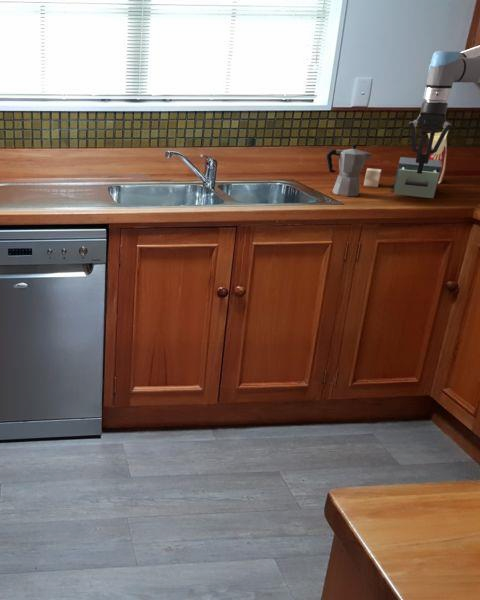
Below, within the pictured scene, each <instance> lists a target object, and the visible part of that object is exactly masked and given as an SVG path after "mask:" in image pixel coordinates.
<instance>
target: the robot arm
mask: <svg viewBox="0 0 480 600" xmlns="http://www.w3.org/2000/svg"><path fill="white" fill-rule="evenodd" d="M454 83H474V84H478V83H480V45H477V46H473V47H471V48H469V49H466V50H463V51H461V52H459V50H455V51H454V50H452V51H451V50H445V51H444V50H437V51H435V52H434V53H433V54H432V57H431V60H430V64H429V66H428V74H427V80H426V84H425V88H424V93H423V99H422V100H423V101H422V102H421V106H420V112H419V115H418V116H417V118H416V119H415V120H413V121H410V122H409V123H408V126H409V128H410V131H411V133H410V134H411V151H412V152H415V153H416V157H415V158H416V163H419V165H418V170H417V173H419V174H422V170H423V166H424V164H427V163H428V161H429V156H430V154H432V153H436V152H437V150H438V148H439V146H440V144H441V142H442V140H443V138H444V136H445V134H446V132H447V131H448V132H449V131H450V129H451V128H452V123H449V122H448V121H447V119H446V115H447V109H448V106H449V103H448V101H449V100H450V97H451V92H452V88H453V84H454ZM418 125H419V127H420V128H421V130H422V131H421V134H420V135H421V136H420V139H419V144H418V147H417V130H416V128H417V127H418ZM440 127H442V130H441V132H442V133H441V135H440V137H439V139H438V141H437V143H436V144H435V146H434V148H433V149H431V148H432V143H433V139H434V134H435V133H436V131H437V130H438V129H439V128H440ZM427 131H430V132H429V133H430V138H429V137H428V142H427V147H426V152H424V153H423V148H424V144H425V139H426V135H427Z"/></svg>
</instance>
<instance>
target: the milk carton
mask: <svg viewBox="0 0 480 600" xmlns="http://www.w3.org/2000/svg"><path fill="white" fill-rule="evenodd" d="M430 133H431V132H429V133H427V132H426V135H427V136H428V139H429V138H430ZM441 133H442V131H439V132H435V134H434V139H433V143H432V148H431V149H433V148H434V146H435V144H436V143H437V141H438V139H439V137H440V135H441ZM448 133H449V130H448V131H447V132H446V134H445V136H444V138H443V140H442V142H441V144H440V146H439V148H438V150H437V152H436V153H432V154H430V156H429V160H441V164H442V168H441V172H440V177H439V181H438V184H441V183H442V182H443V179H444V175H445V171H446V167H447V166H446V164H447V154H448V150H447V149H448V148H447V147H448V145H447V144H448V143H447V137H448Z"/></svg>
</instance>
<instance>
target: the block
mask: <svg viewBox="0 0 480 600" xmlns="http://www.w3.org/2000/svg"><path fill="white" fill-rule="evenodd" d="M381 175H382V168H381V169H380V168H370V167H367V168H366V172H365V176H364V182H363V186H364V187H374V188H378V187H379V185H380V179H381Z"/></svg>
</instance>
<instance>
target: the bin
mask: <svg viewBox="0 0 480 600" xmlns="http://www.w3.org/2000/svg"><path fill="white" fill-rule="evenodd" d="M417 170H418V167H407V166H403V167H402V169H399V172H398V177H397V182H396V186H395V191H394V193H393V195H397V196H407V197H416V198H426V199H434V193H435V189H436V185H437V181H438V177H439V173H438V172H437V170H436V169H429V168H423V170H422V174H419V173H417ZM437 186H438V185H437ZM436 190H437V189H436ZM435 194H436V193H435Z"/></svg>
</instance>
